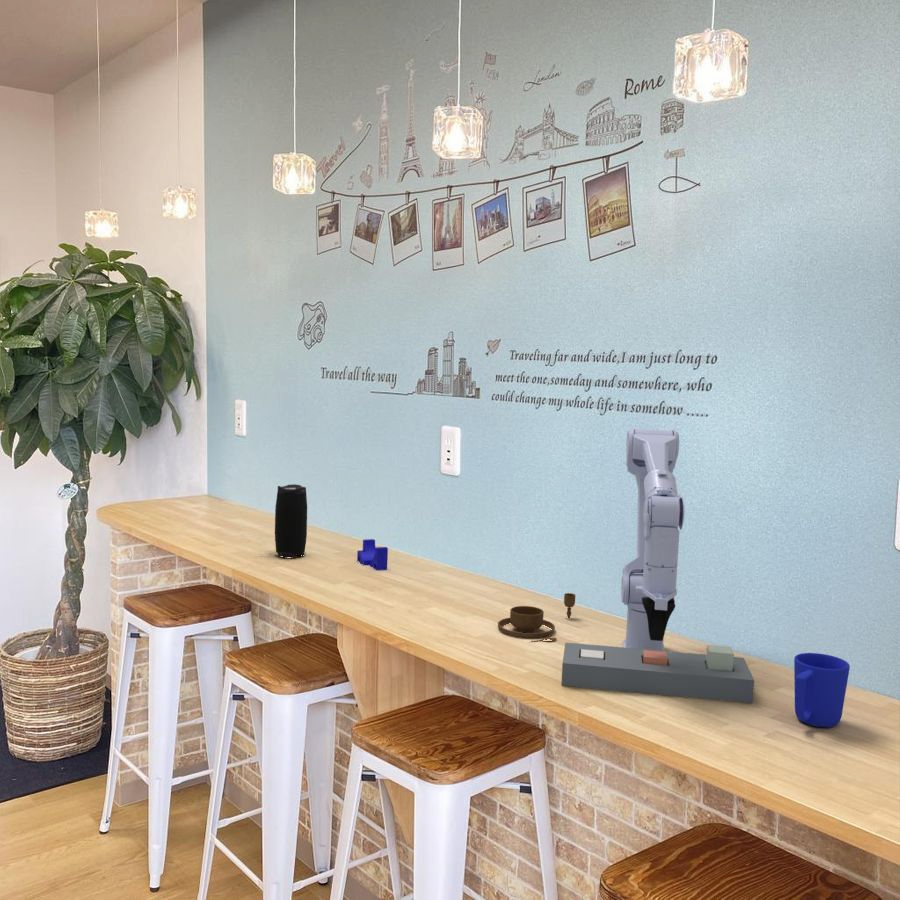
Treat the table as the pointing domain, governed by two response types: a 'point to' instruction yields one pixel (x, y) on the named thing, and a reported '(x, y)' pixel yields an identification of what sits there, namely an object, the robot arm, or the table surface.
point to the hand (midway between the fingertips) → (656, 639)
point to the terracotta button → (654, 657)
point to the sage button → (719, 658)
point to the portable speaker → (291, 520)
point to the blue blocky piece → (373, 555)
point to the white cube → (592, 654)
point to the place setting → (532, 620)
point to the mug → (820, 688)
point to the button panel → (656, 674)
